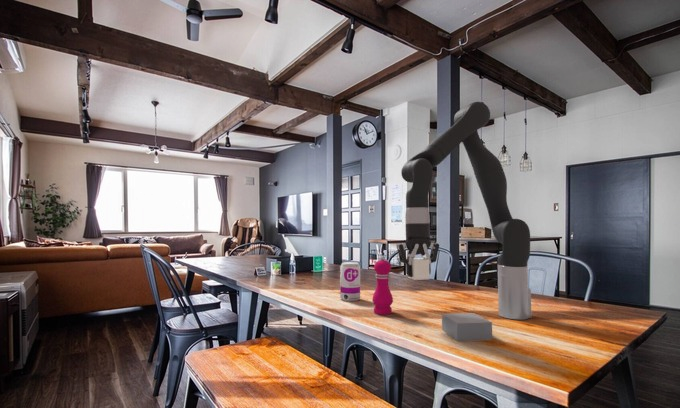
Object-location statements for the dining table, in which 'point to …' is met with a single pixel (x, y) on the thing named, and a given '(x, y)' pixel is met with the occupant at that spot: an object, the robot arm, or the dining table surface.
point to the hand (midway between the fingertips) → (418, 276)
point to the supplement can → (350, 281)
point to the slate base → (467, 326)
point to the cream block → (420, 269)
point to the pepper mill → (382, 288)
